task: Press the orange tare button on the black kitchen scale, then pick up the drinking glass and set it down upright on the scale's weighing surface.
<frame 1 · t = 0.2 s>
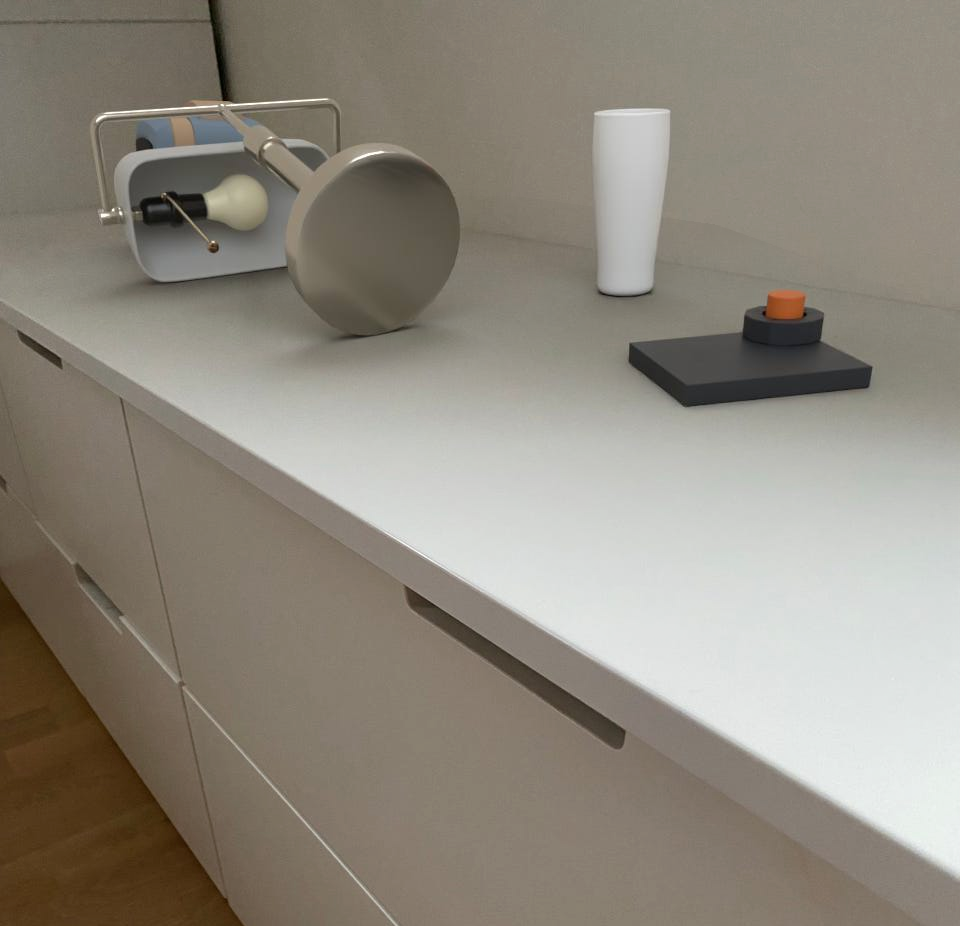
scale: (742, 373, 69), on the countertop
tare button: (785, 306, 71), point 4 cm above the countertop, slide at 0.1 cm
lamp: (297, 299, 95), on the countertop
drinking glass: (624, 293, 93), on the countertop
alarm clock: (222, 243, 125), on the countertop
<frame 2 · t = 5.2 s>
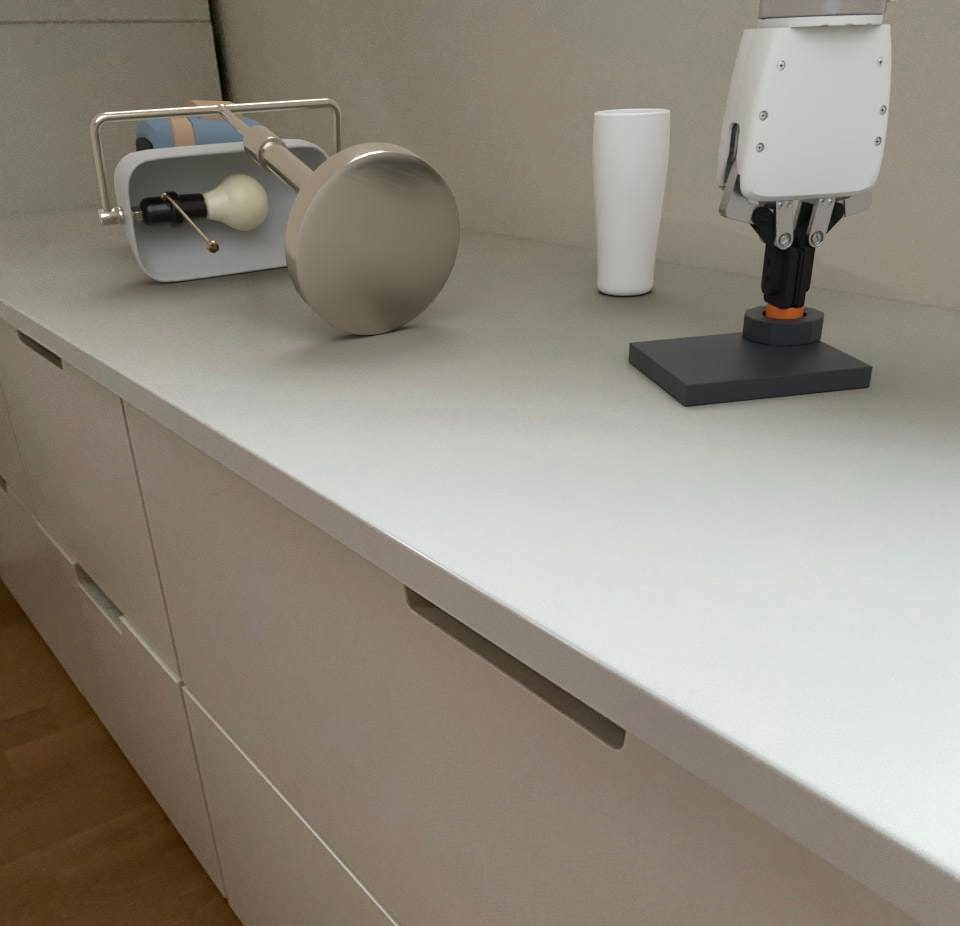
hand: (783, 303, 70), 4 cm above the countertop, tool pointing down, fingers closed
tare button: (784, 316, 71), point 3 cm above the countertop, slide at -0.6 cm, touching gripper
everything else where it was.
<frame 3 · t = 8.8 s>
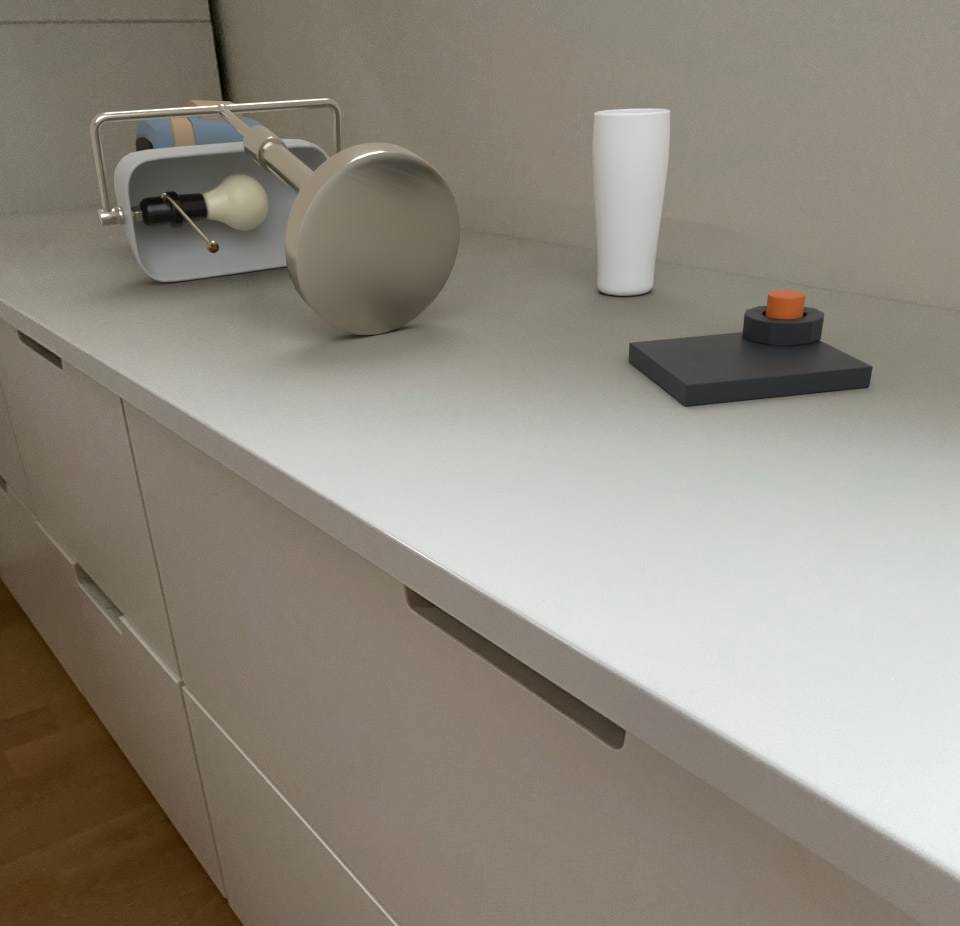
tare button: (785, 306, 71), point 4 cm above the countertop, slide at 0.1 cm
everything else where it was.
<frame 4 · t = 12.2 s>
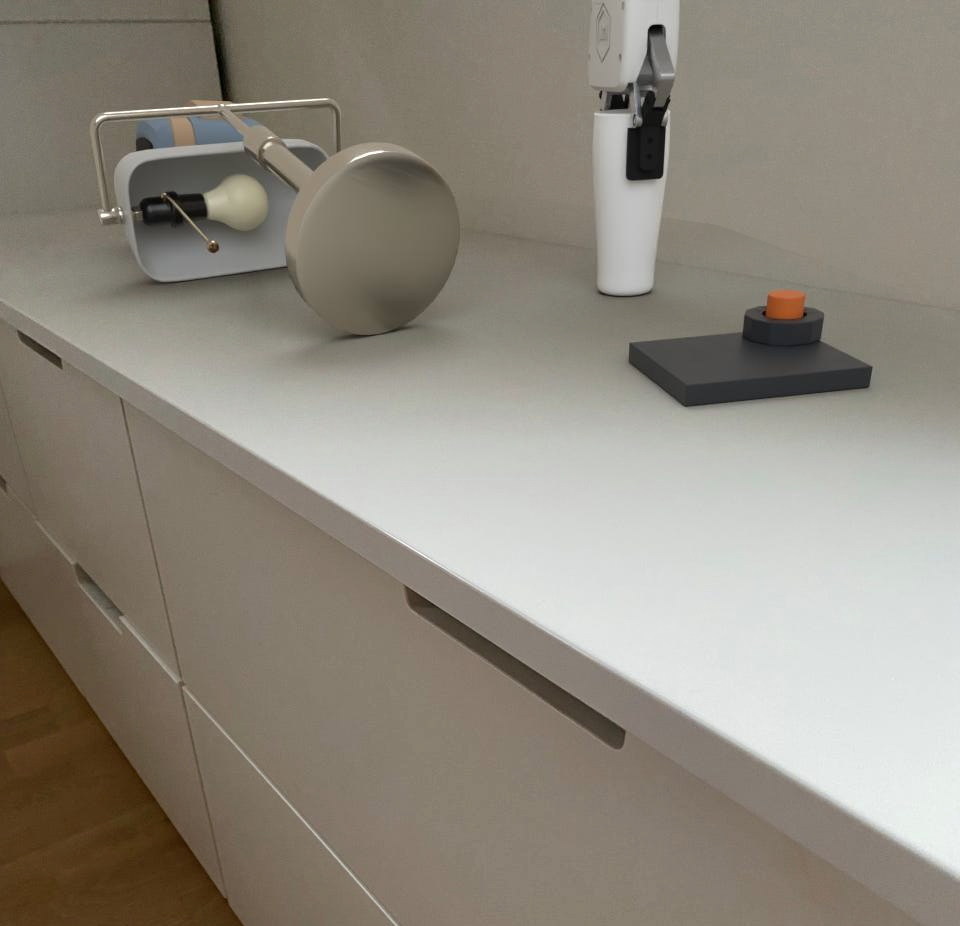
hand: (629, 173, 87), 10 cm above the countertop, tool pointing down, fingers closed on drinking glass, 6 cm apart
drinking glass: (624, 293, 93), on the countertop, touching gripper
everything else where it was.
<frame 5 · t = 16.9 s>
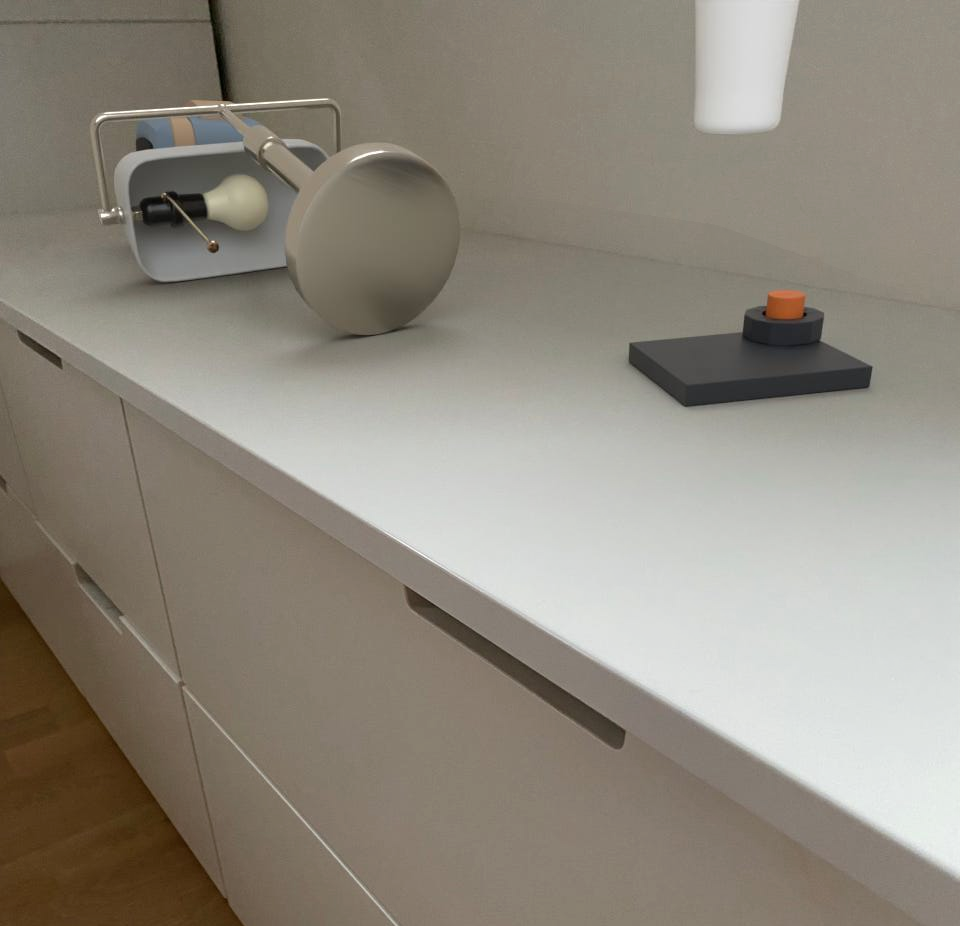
drinking glass: (735, 135, 62), point 15 cm above the countertop, touching gripper
everything else where it was.
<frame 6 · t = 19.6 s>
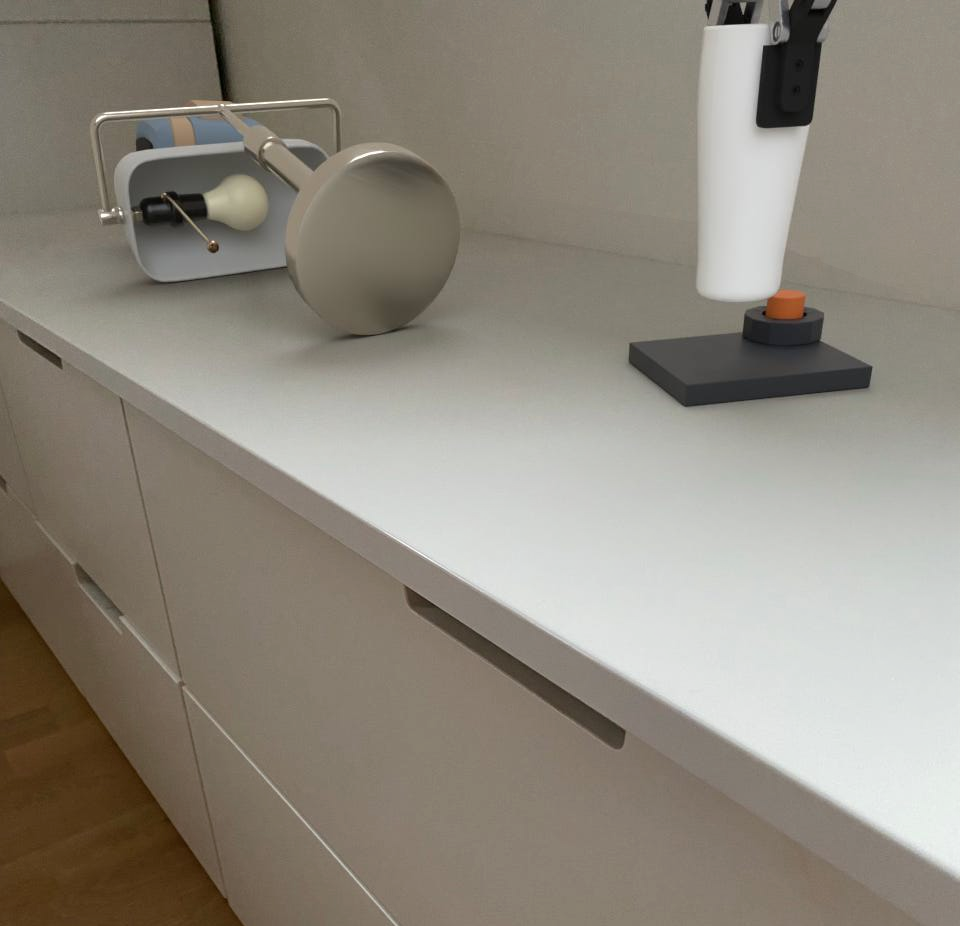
hand: (754, 120, 58), 16 cm above the countertop, tool pointing down, fingers closed on drinking glass, 6 cm apart
drinking glass: (736, 299, 64), point 6 cm above the countertop, touching gripper
everything else where it was.
when the fingers open (12 cm above the countertop, at t = 21.5 s): drinking glass stays where it is, resting on scale.
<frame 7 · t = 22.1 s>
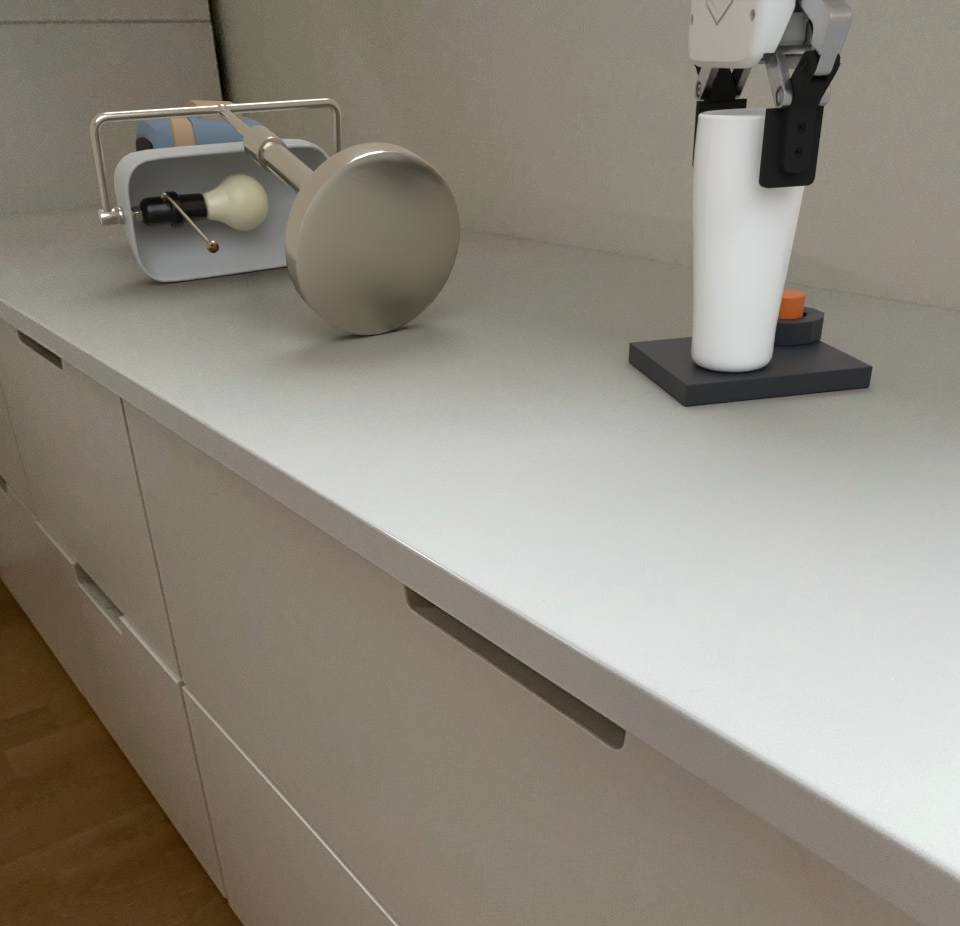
hand: (748, 177, 60), 13 cm above the countertop, tool pointing down, fingers open, 9 cm apart
drinking glass: (730, 366, 66), point 1 cm above the countertop, touching scale
everything else where it was.
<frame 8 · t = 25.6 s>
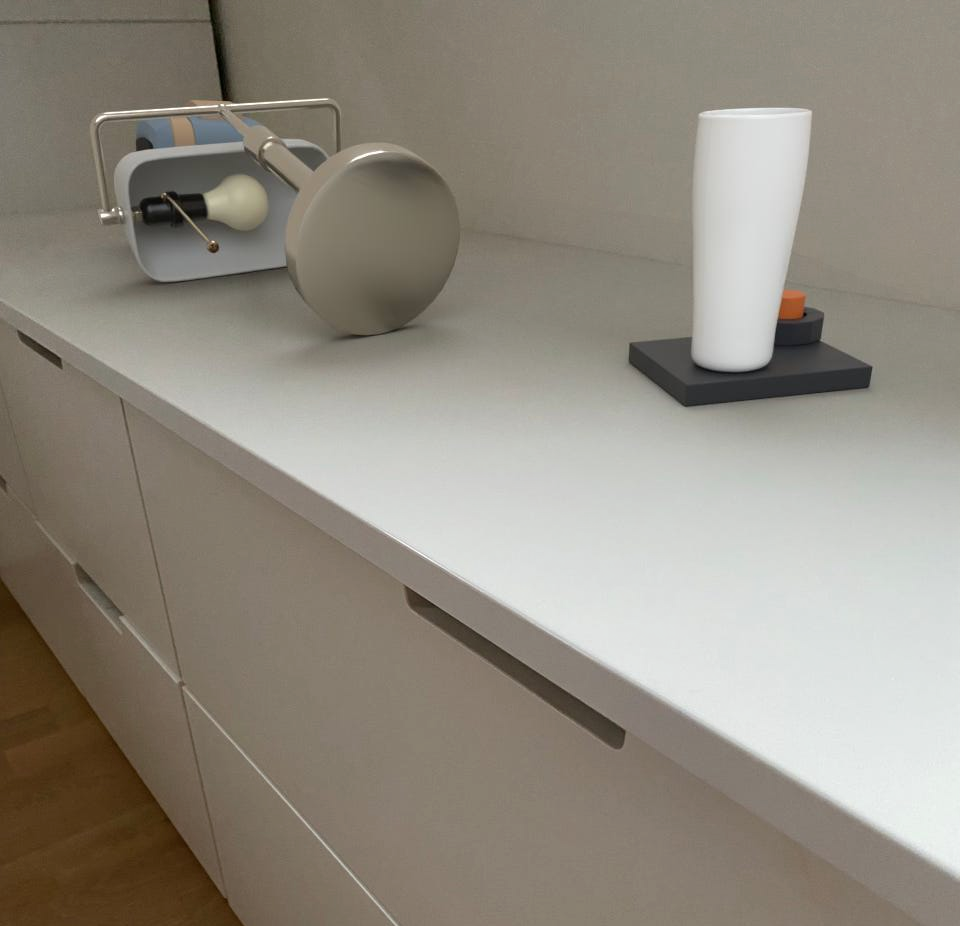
nothing on the countertop moved.
at the end: tare button pushed in 0.9 cm at the most during the clip, back to where it started at the end; drinking glass 0.1 cm from the target spot on the scale, point 1.2 cm above the scale's base; drinking glass tilted 0° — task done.
